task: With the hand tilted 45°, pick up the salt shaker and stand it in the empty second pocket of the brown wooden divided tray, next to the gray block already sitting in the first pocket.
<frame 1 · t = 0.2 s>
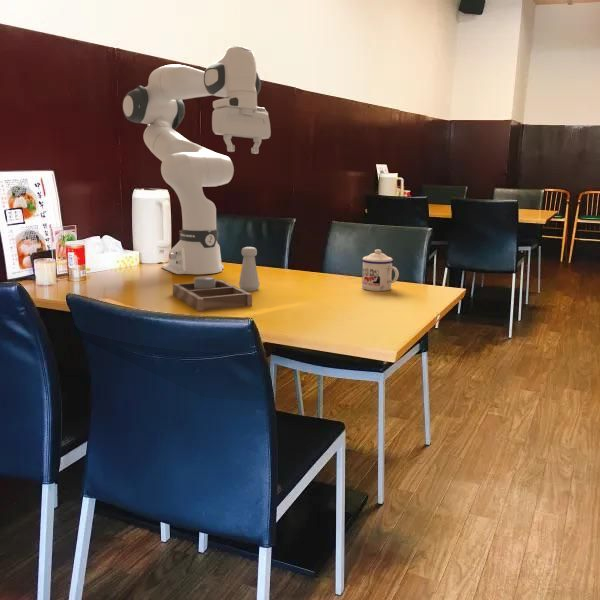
hand: (243, 152, 184), 39 cm above the table, tool pointing down, fingers open, 8 cm apart
brown wooden divided tray: (211, 303, 163), on the table
teacup with lid: (380, 289, 185), on the table
gray block: (205, 296, 166), resting on brown wooden divided tray
salt shaker: (249, 293, 177), on the table
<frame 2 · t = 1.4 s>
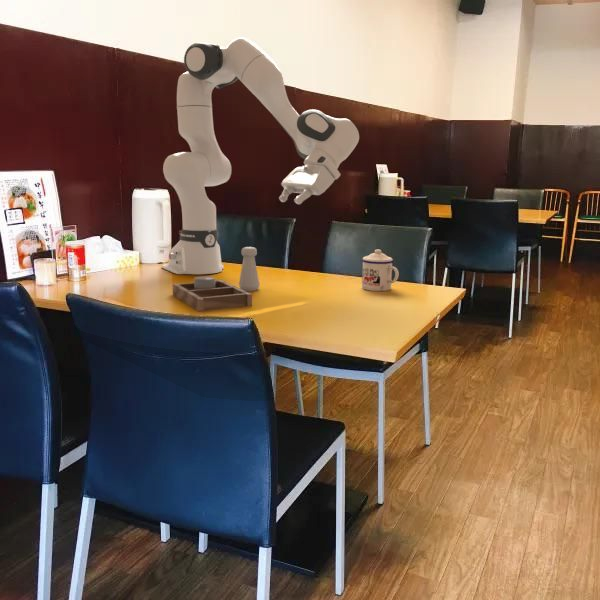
hand: (288, 201, 177), 25 cm above the table, tool tilted 45°, fingers open, 8 cm apart
nothing on the table moved.
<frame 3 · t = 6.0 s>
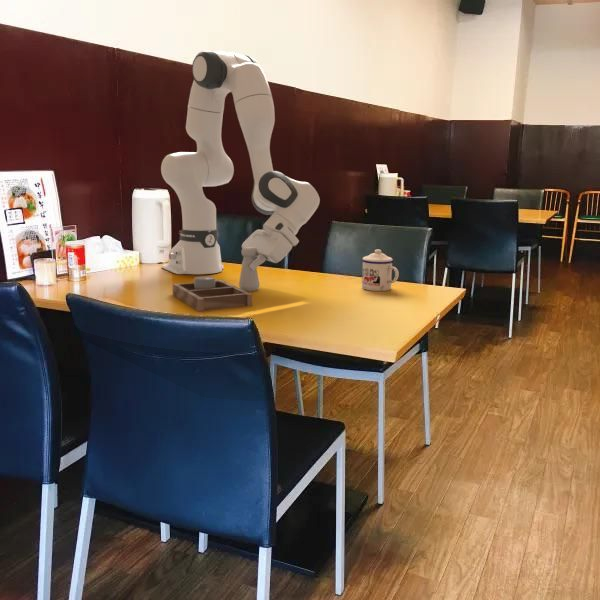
hand: (247, 267, 175), 7 cm above the table, tool tilted 45°, fingers closed on salt shaker, 3 cm apart
salt shaker: (249, 293, 177), on the table, touching gripper
everything else where it was.
when the fingers open (9 cm above the table, at t = 12.6 s): salt shaker stays where it is, resting on brown wooden divided tray.
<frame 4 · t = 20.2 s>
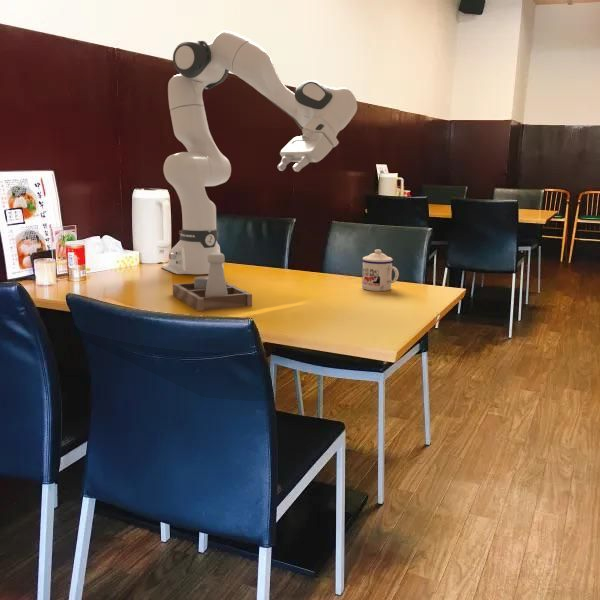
hand: (287, 169, 178), 34 cm above the table, tool tilted 45°, fingers open, 8 cm apart
salt shaker: (216, 304, 158), point 1 cm above the table, touching brown wooden divided tray
everything else where it was.
at the end: salt shaker inside the target area on the brown wooden divided tray (0.3 cm from its centre), point 0.8 cm above the brown wooden divided tray's base; salt shaker tilted 0°; the gripper is holding nothing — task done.
